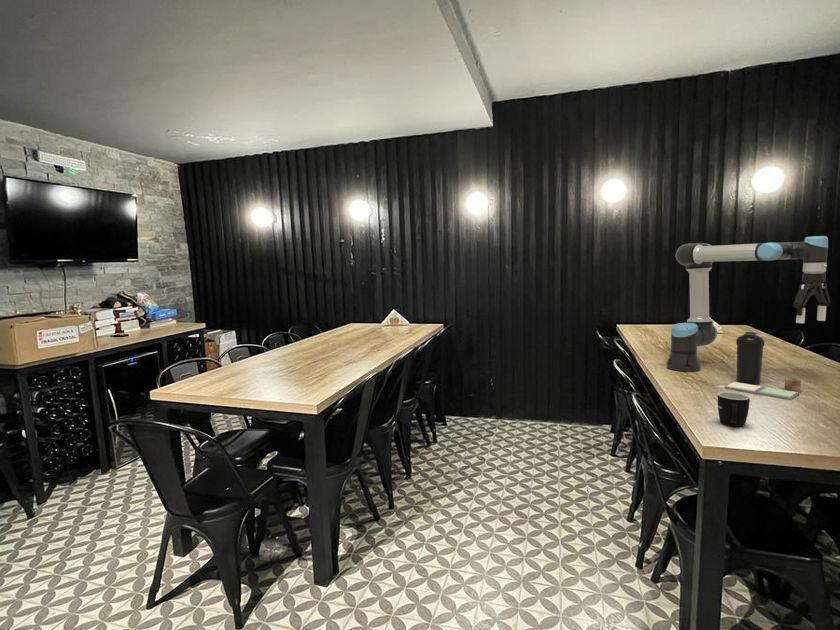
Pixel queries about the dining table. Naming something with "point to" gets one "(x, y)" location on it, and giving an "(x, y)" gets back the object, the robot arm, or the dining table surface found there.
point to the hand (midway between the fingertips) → (810, 321)
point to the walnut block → (792, 384)
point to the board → (762, 390)
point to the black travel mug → (749, 358)
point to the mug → (733, 408)
